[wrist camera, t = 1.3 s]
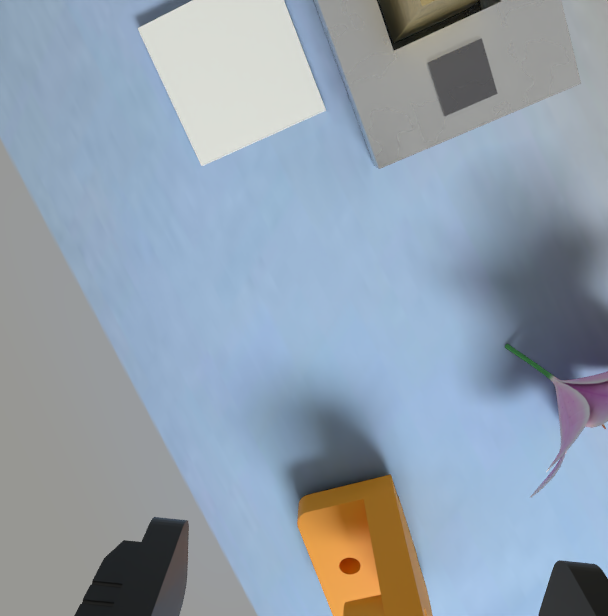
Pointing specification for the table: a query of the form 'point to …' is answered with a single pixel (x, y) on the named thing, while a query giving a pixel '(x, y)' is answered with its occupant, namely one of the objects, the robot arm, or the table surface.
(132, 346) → the table surface
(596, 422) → the lily
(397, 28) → the brass peg
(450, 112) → the socket block
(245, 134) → the pad
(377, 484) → the bracket
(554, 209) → the table surface
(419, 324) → the table surface
